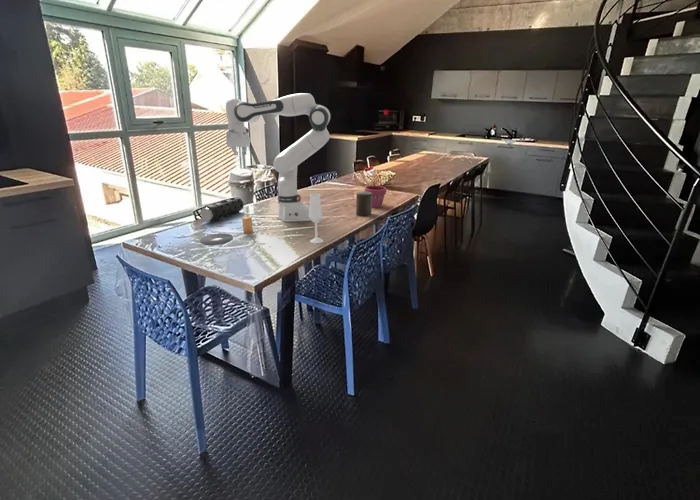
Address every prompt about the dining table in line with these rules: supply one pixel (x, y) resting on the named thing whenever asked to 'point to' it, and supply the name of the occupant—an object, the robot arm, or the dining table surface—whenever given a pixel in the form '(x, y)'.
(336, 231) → the dining table surface
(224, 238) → the slate plate
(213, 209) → the muzzle brake
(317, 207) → the champagne flute
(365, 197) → the pillar candle
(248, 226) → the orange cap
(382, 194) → the plant pot
